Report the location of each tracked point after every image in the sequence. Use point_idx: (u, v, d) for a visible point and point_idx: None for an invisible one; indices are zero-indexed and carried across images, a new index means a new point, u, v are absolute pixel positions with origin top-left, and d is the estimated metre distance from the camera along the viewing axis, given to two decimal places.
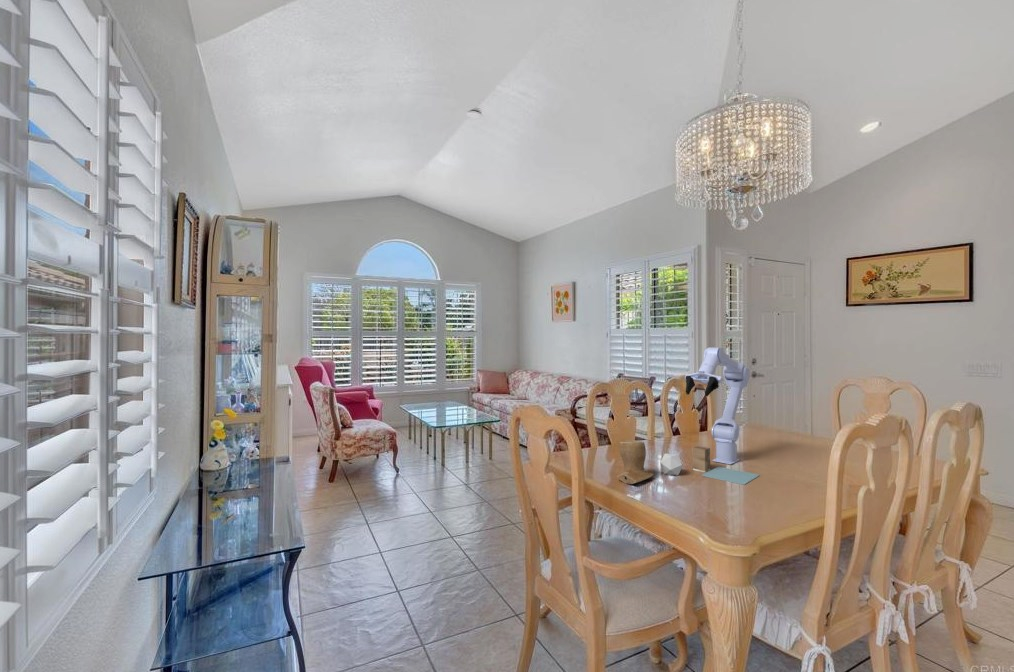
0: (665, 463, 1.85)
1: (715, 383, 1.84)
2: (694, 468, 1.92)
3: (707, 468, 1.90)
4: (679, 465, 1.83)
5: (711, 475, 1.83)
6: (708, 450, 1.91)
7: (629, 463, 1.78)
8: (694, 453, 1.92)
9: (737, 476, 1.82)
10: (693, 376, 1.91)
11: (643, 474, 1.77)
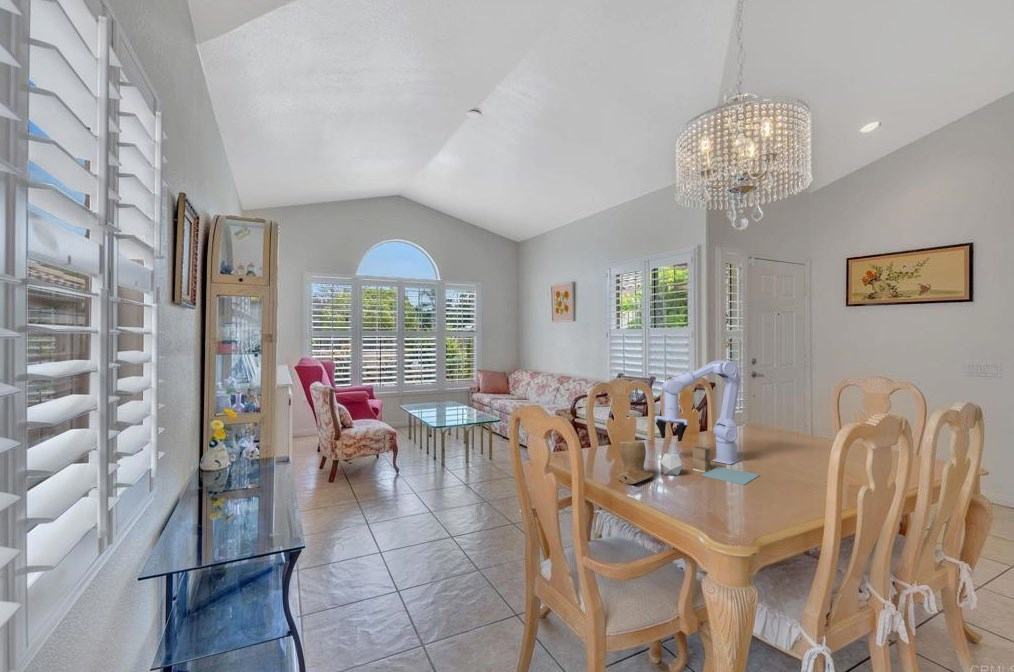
0: (665, 463, 1.85)
1: None
2: (694, 468, 1.92)
3: (707, 468, 1.90)
4: (679, 465, 1.83)
5: (711, 475, 1.83)
6: (708, 450, 1.91)
7: (629, 463, 1.78)
8: (694, 453, 1.92)
9: (737, 476, 1.82)
10: (662, 419, 2.03)
11: (643, 474, 1.77)
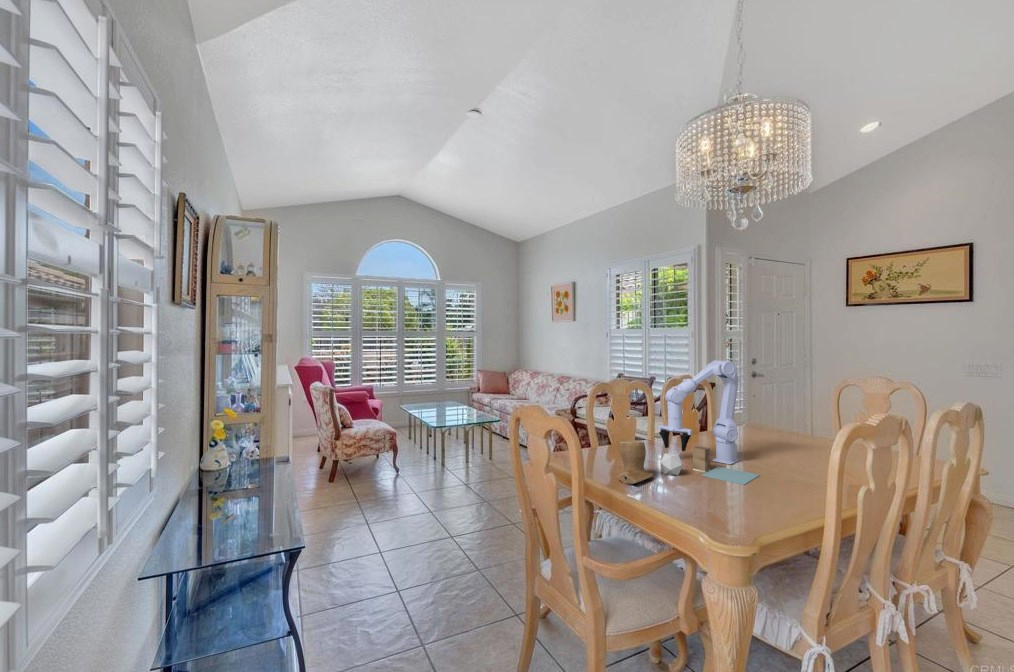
0: (665, 463, 1.85)
1: None
2: (694, 468, 1.92)
3: (707, 468, 1.90)
4: (679, 465, 1.83)
5: (711, 475, 1.83)
6: (708, 450, 1.91)
7: (629, 463, 1.78)
8: (694, 453, 1.92)
9: (737, 476, 1.82)
10: None
11: (643, 474, 1.77)
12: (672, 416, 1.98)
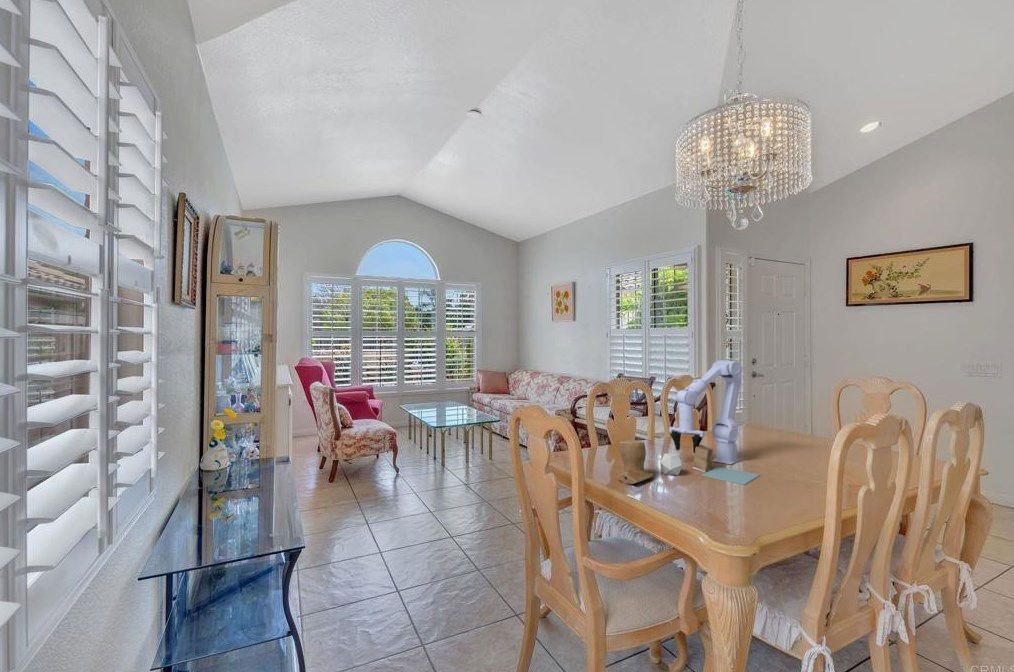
0: (665, 463, 1.85)
1: None
2: (694, 467, 1.92)
3: (707, 468, 1.90)
4: (679, 465, 1.83)
5: (711, 475, 1.83)
6: (711, 451, 1.90)
7: (629, 463, 1.78)
8: (696, 452, 1.91)
9: (737, 476, 1.82)
10: None
11: (643, 474, 1.77)
12: (685, 418, 1.94)
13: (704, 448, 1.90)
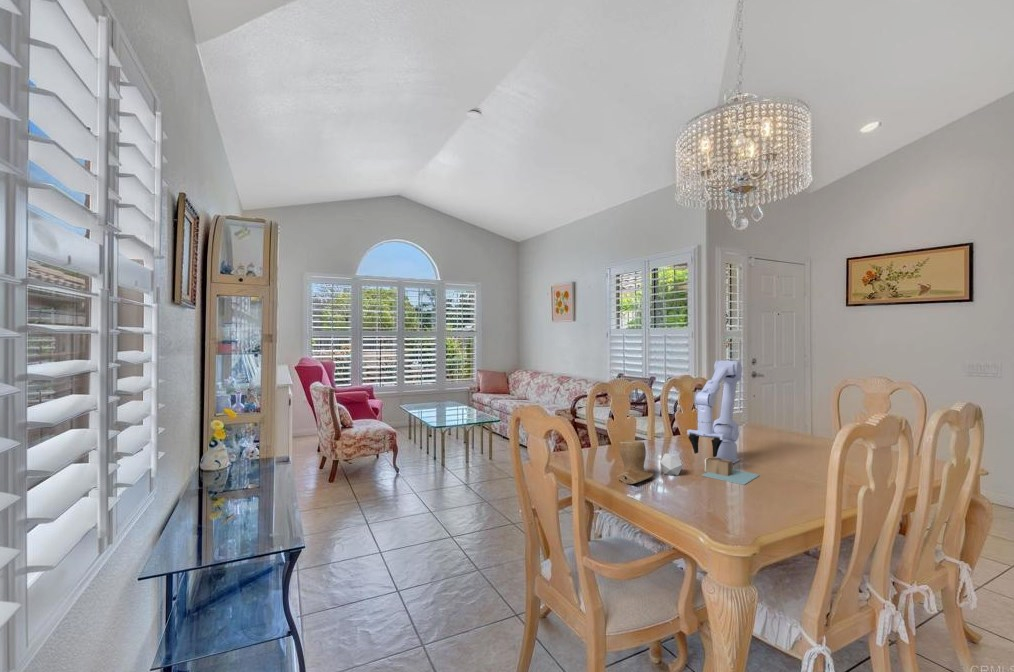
0: (665, 463, 1.85)
1: None
2: (706, 460, 1.88)
3: None
4: (679, 465, 1.83)
5: (711, 475, 1.83)
6: None
7: (629, 463, 1.78)
8: (722, 464, 1.84)
9: (737, 476, 1.82)
10: None
11: (643, 474, 1.77)
12: (707, 420, 1.88)
13: (729, 470, 1.83)
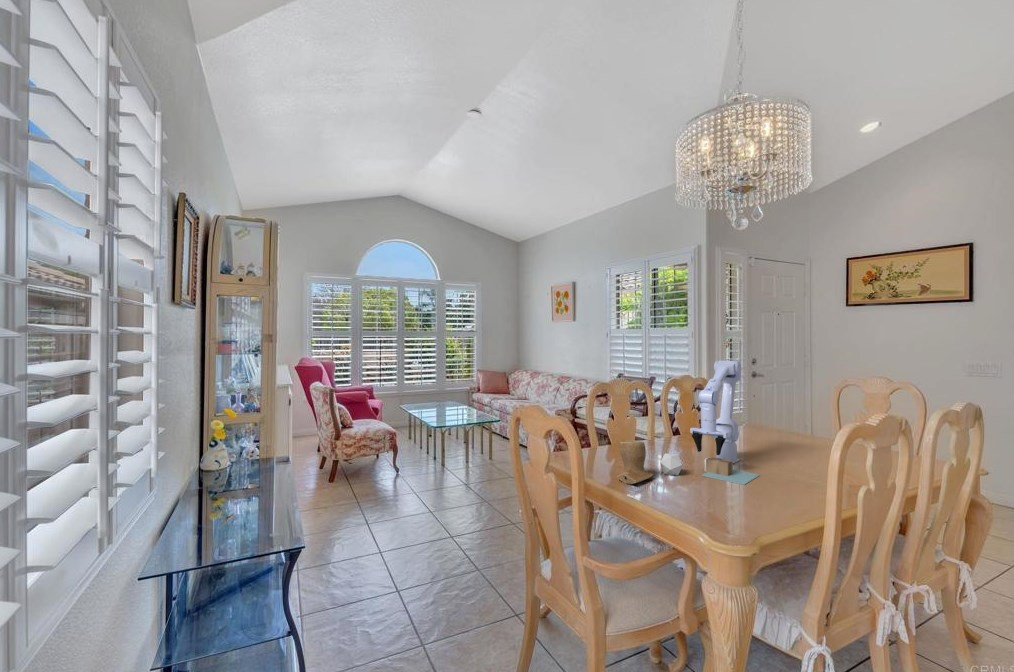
0: (665, 463, 1.85)
1: None
2: (706, 460, 1.88)
3: None
4: (679, 465, 1.83)
5: (711, 475, 1.83)
6: None
7: (629, 463, 1.78)
8: (722, 464, 1.84)
9: (737, 476, 1.82)
10: None
11: (643, 474, 1.77)
12: (711, 418, 1.87)
13: (729, 470, 1.83)
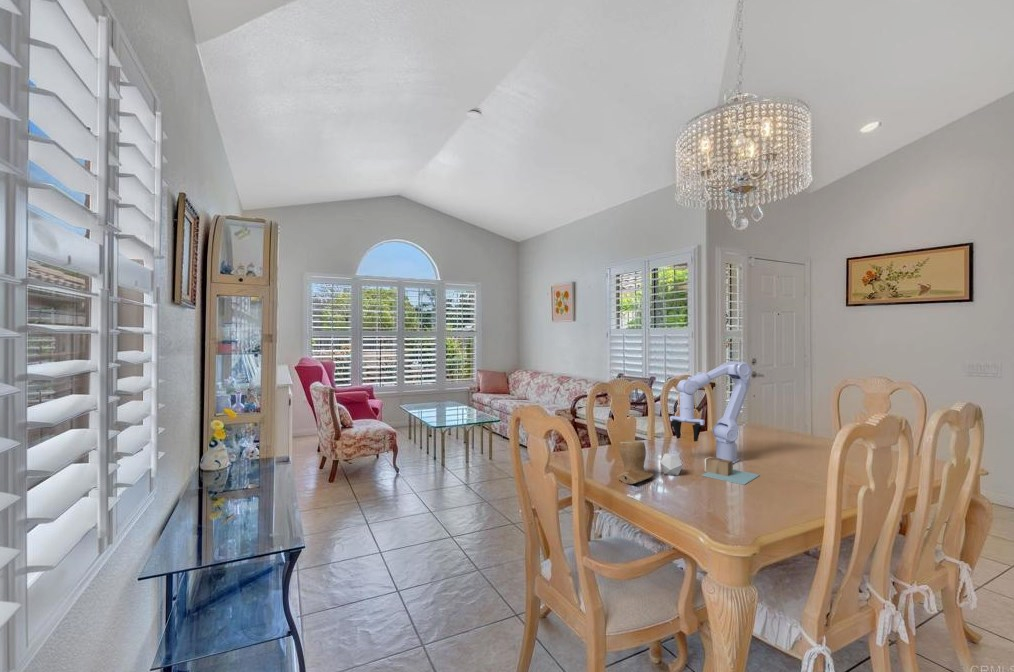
0: (665, 463, 1.85)
1: None
2: (706, 460, 1.88)
3: None
4: (679, 465, 1.83)
5: (711, 475, 1.83)
6: None
7: (629, 463, 1.78)
8: (722, 464, 1.84)
9: (737, 476, 1.82)
10: None
11: (643, 474, 1.77)
12: (684, 406, 1.98)
13: (729, 470, 1.83)
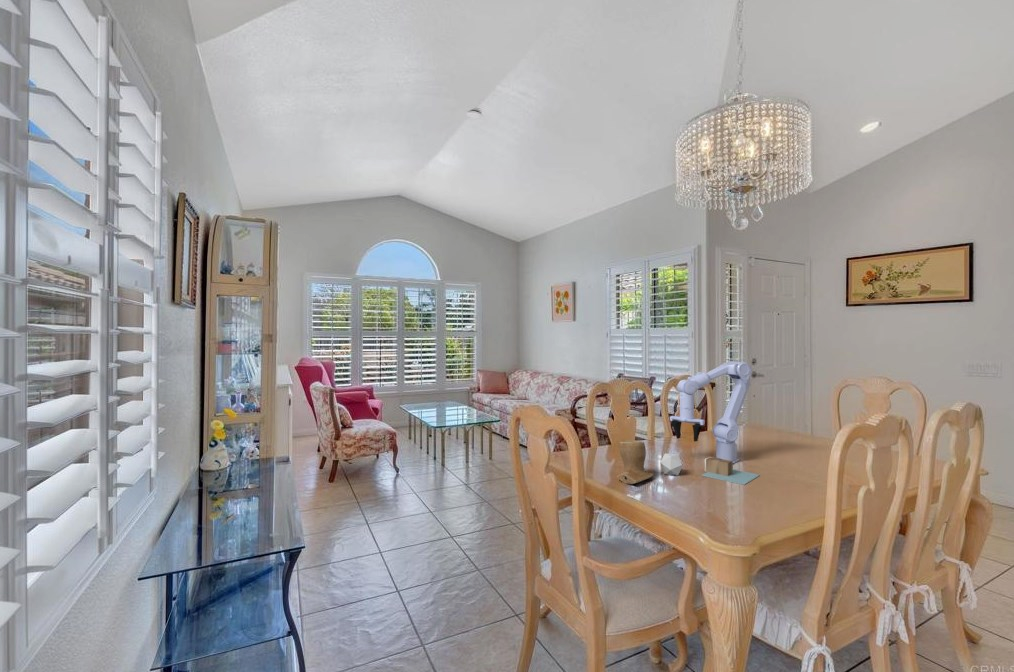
0: (665, 463, 1.85)
1: None
2: (706, 460, 1.88)
3: None
4: (679, 465, 1.83)
5: (711, 475, 1.83)
6: None
7: (629, 463, 1.78)
8: (722, 464, 1.84)
9: (737, 476, 1.82)
10: None
11: (643, 474, 1.77)
12: (684, 406, 1.98)
13: (729, 470, 1.83)
